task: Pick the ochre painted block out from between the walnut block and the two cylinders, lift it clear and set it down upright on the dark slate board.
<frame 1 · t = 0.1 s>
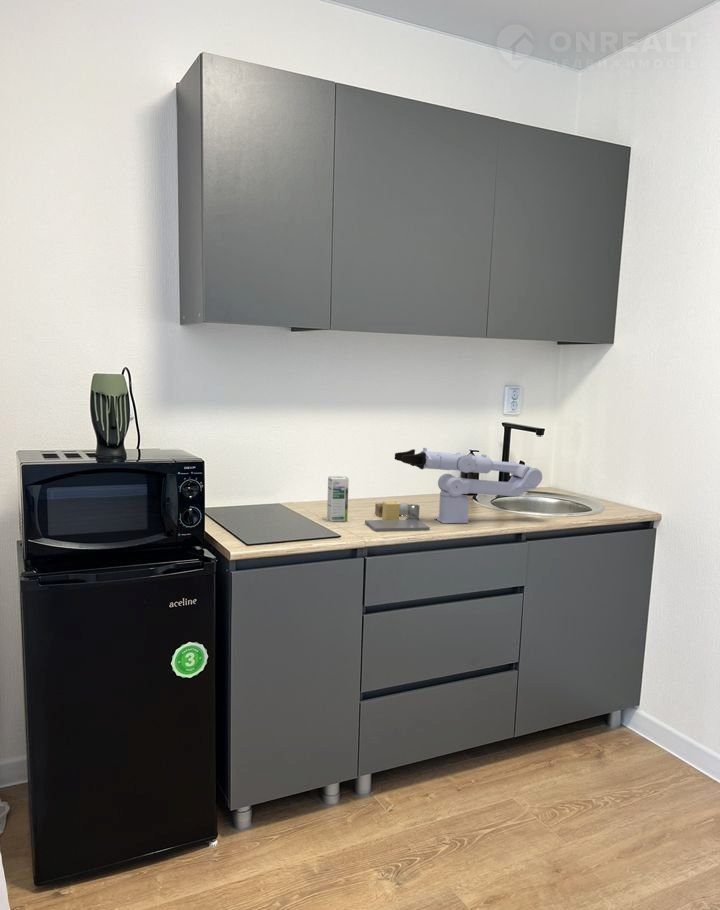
hand: (398, 457, 230), 22 cm above the countertop, tool horizontal, fingers open, 7 cm apart
slate board: (396, 526, 226), on the countertop
walnut block: (383, 516, 243), on the countertop
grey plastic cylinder: (403, 515, 244), on the countertop
dark metal cylinder: (412, 519, 237), on the countertop
ochre block: (390, 520, 235), on the countertop
syrup box: (336, 520, 233), on the countertop
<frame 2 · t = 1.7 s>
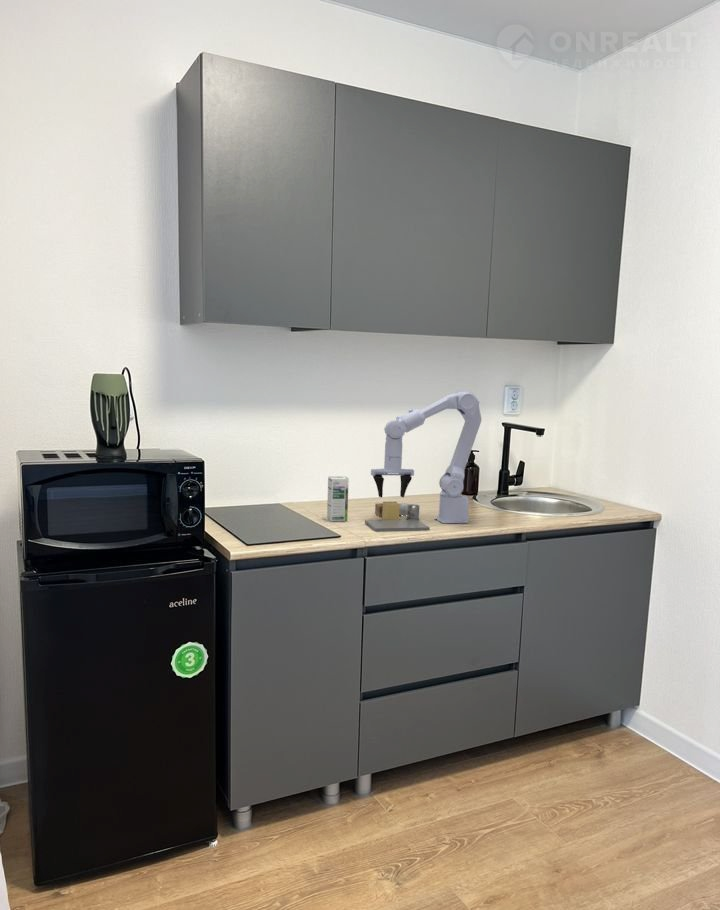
hand: (391, 496, 234), 8 cm above the countertop, tool pointing down, fingers open, 7 cm apart
nothing on the countertop moved.
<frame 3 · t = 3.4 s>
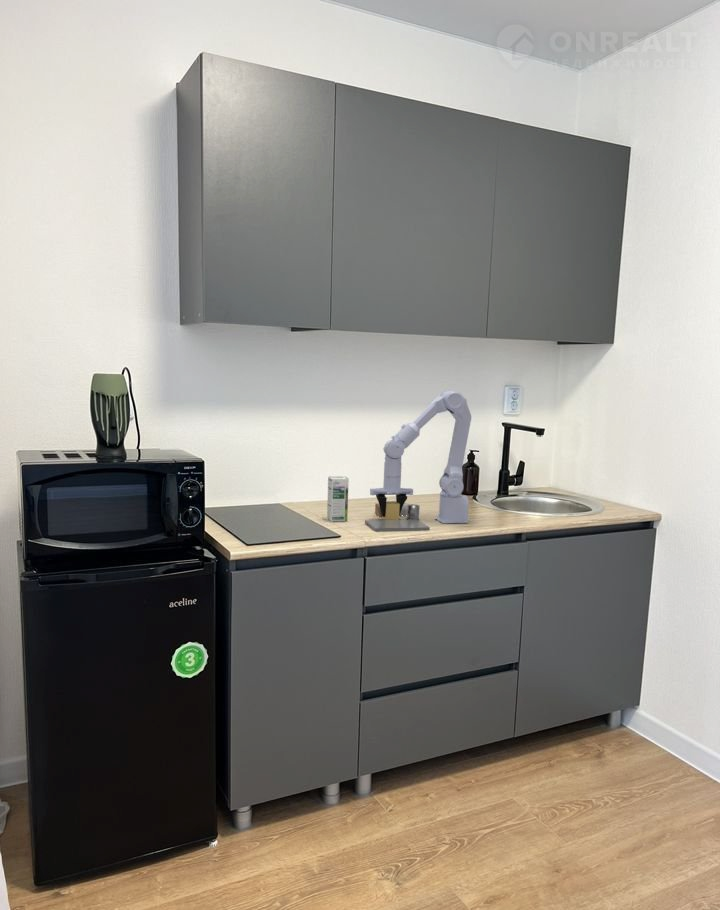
hand: (390, 516, 235), 1 cm above the countertop, tool pointing down, fingers closed on ochre block, 4 cm apart
ochre block: (390, 520, 235), on the countertop, touching gripper
everything else where it was.
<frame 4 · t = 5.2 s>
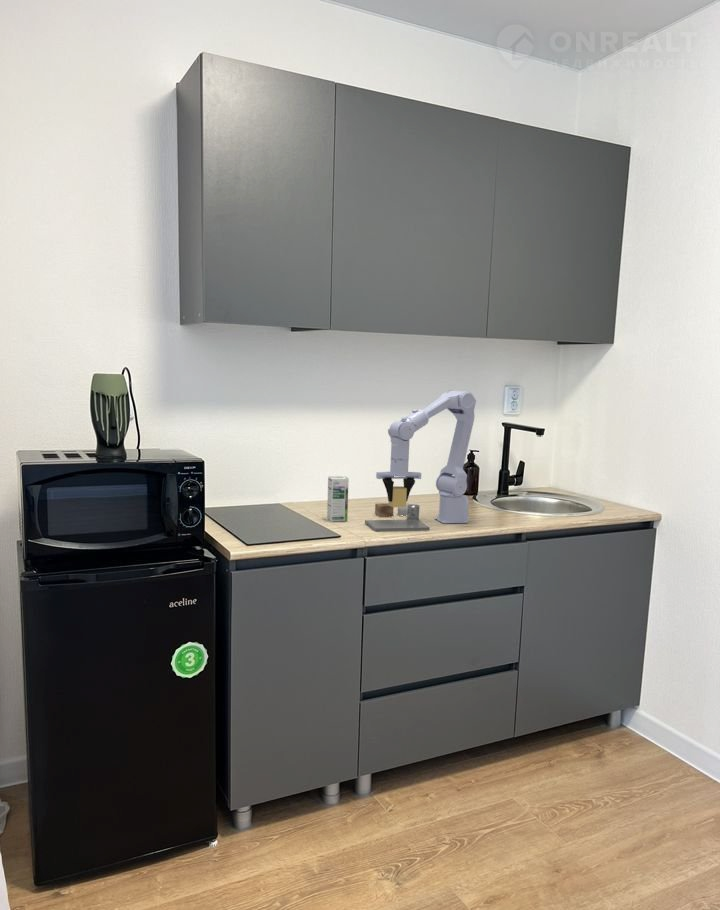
hand: (397, 501, 225), 8 cm above the countertop, tool pointing down, fingers closed on ochre block, 4 cm apart
ochre block: (397, 505, 225), point 7 cm above the countertop, touching gripper
everything else where it was.
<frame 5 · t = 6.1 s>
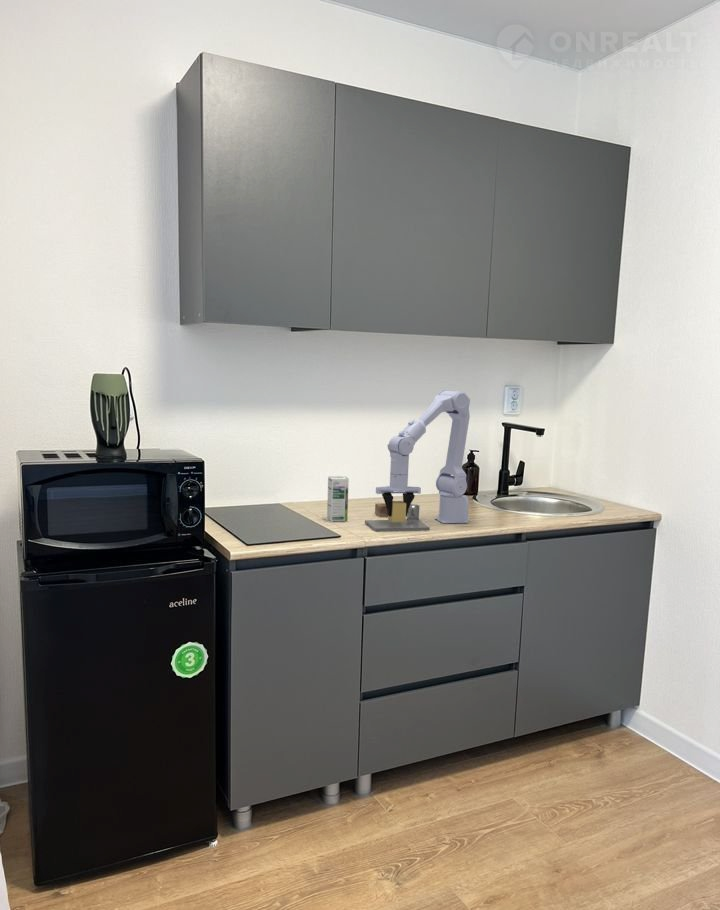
hand: (397, 515, 225), 4 cm above the countertop, tool pointing down, fingers closed on ochre block, 4 cm apart
ochre block: (396, 520, 226), point 2 cm above the countertop, touching gripper
everything else where it was.
when the fingers open (3 cm above the countertop, at t = 7.0 s): ochre block stays where it is, resting on slate board.
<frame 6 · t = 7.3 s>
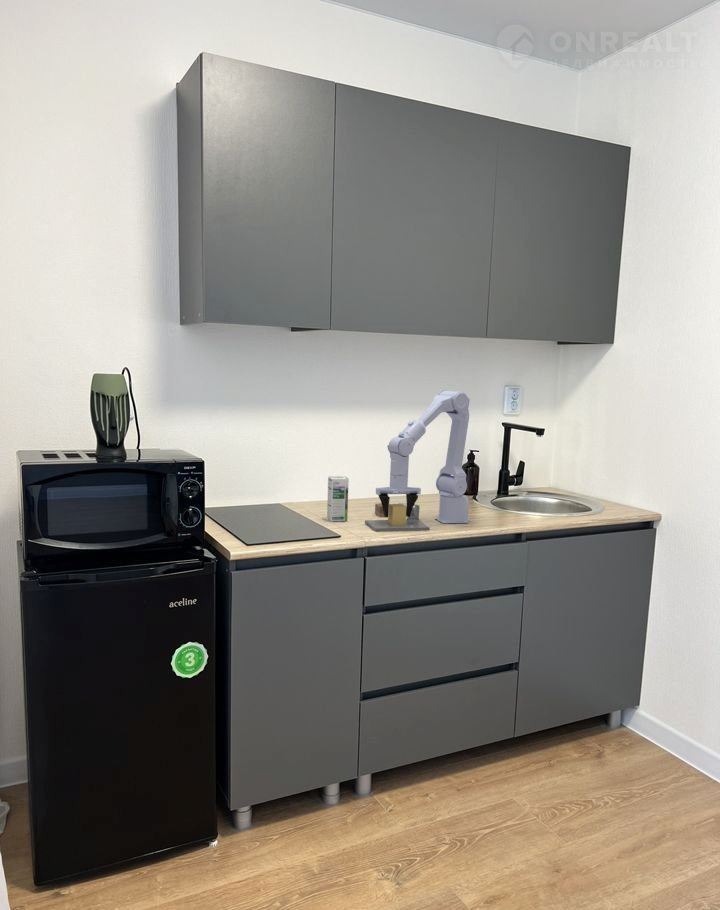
hand: (397, 516, 225), 3 cm above the countertop, tool pointing down, fingers open, 7 cm apart
ochre block: (396, 523, 226), point 1 cm above the countertop, touching slate board
everything else where it was.
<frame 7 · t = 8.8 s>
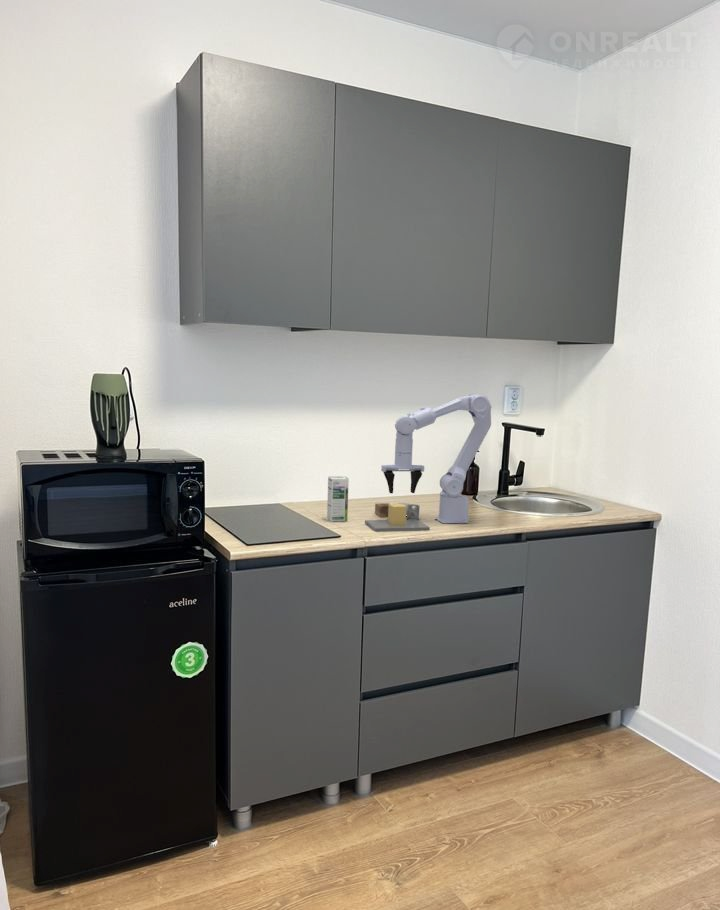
hand: (401, 492, 235), 9 cm above the countertop, tool pointing down, fingers open, 7 cm apart
nothing on the countertop moved.
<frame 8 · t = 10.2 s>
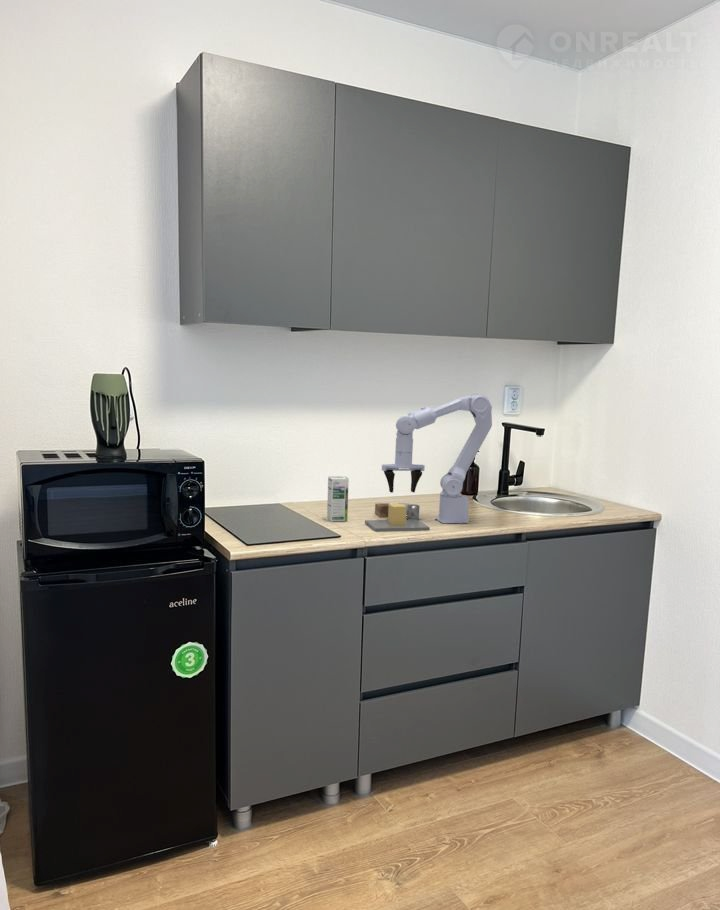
hand: (402, 492, 236), 9 cm above the countertop, tool pointing down, fingers open, 7 cm apart
nothing on the countertop moved.
at the end: ochre block inside the target area on the slate board (0.3 cm from its centre), point 1.0 cm above the slate board's base; ochre block tilted 0°; the gripper is holding nothing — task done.
